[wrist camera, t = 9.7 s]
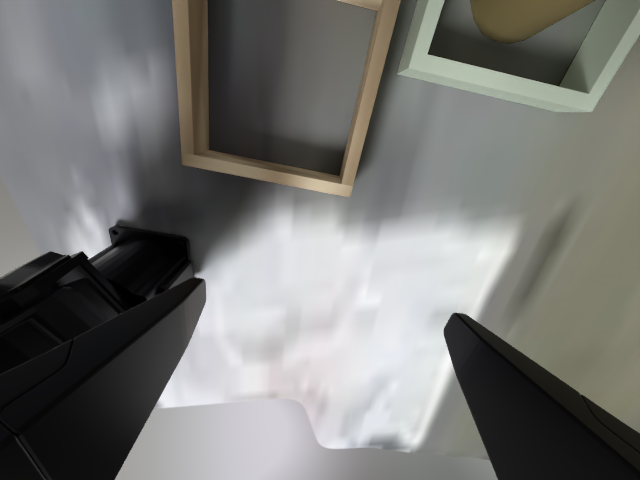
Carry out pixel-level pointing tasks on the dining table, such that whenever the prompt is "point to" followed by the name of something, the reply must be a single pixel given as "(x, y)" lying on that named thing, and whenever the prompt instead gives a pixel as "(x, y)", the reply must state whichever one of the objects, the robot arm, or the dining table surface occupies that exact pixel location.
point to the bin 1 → (196, 153)
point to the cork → (520, 17)
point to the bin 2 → (571, 96)
